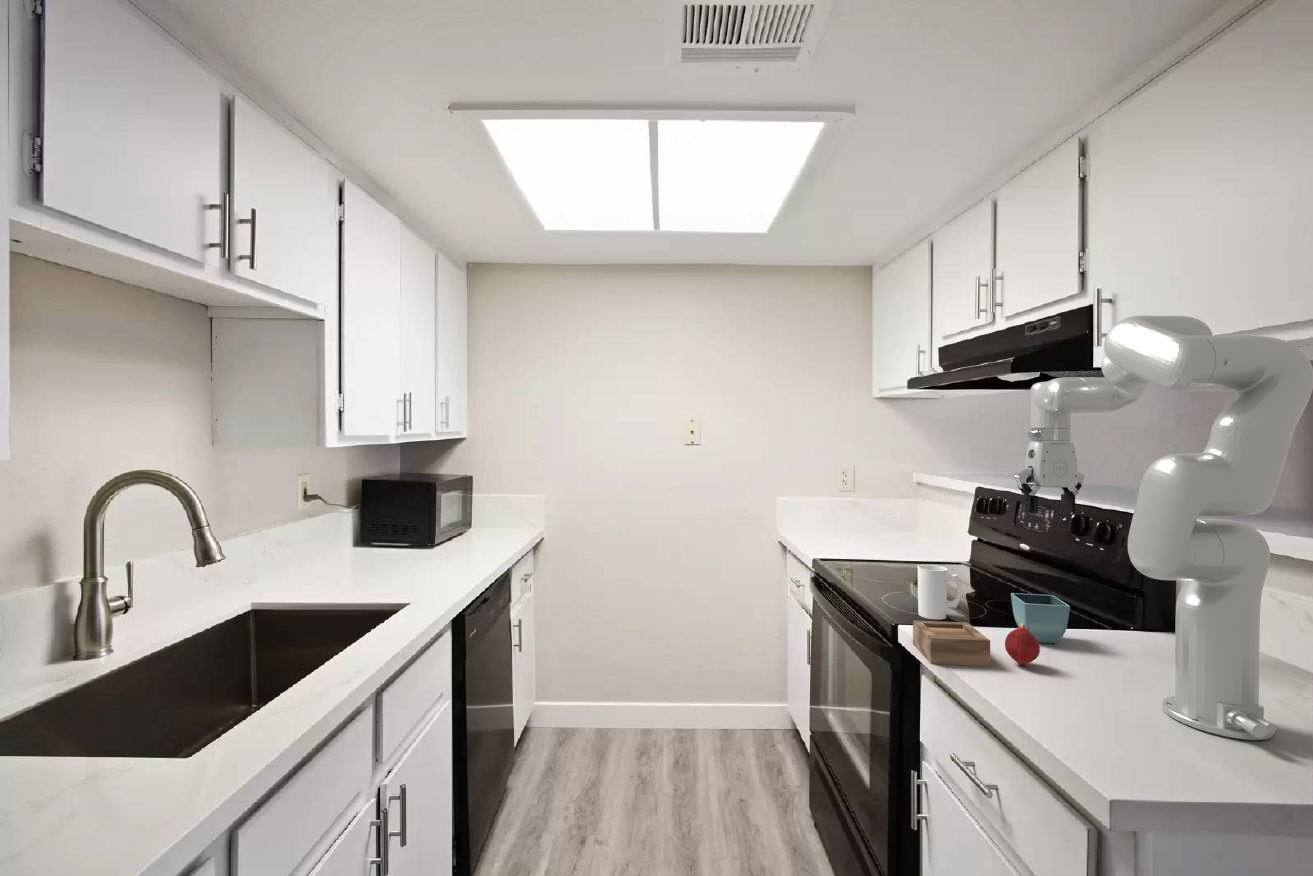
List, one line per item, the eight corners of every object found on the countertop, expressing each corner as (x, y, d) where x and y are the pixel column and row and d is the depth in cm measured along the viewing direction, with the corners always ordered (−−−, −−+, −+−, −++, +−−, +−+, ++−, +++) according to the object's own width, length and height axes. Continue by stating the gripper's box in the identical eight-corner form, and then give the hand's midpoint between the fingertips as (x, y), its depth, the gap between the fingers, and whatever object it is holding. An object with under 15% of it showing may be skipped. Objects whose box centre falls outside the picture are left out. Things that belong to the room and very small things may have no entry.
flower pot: (1024, 645, 125) (1024, 603, 125) (1009, 631, 134) (1009, 592, 134) (1070, 648, 123) (1071, 606, 123) (1053, 635, 132) (1053, 595, 132)
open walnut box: (990, 666, 113) (990, 640, 113) (930, 663, 114) (930, 638, 114) (966, 646, 124) (967, 622, 124) (912, 643, 125) (913, 620, 125)
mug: (916, 617, 144) (916, 568, 144) (918, 610, 150) (918, 563, 150) (962, 624, 139) (962, 573, 139) (962, 616, 145) (962, 568, 145)
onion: (1045, 672, 110) (1045, 630, 110) (1011, 669, 112) (1012, 628, 112) (1032, 661, 116) (1032, 620, 116) (1000, 658, 117) (1000, 618, 117)
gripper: (1030, 436, 126) (1030, 515, 126) (1097, 436, 130) (1097, 514, 130) (1003, 436, 134) (1003, 511, 134) (1068, 436, 137) (1067, 510, 137)
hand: (1049, 512), depth 132 cm, fingers open, 9 cm apart
